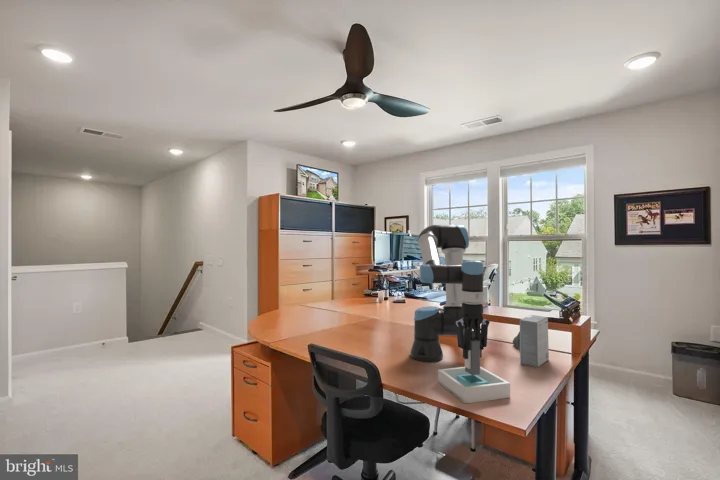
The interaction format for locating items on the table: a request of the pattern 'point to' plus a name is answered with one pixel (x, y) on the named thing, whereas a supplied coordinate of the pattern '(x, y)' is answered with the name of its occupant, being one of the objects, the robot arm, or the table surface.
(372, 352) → the table surface
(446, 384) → the walled box
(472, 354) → the connector plug
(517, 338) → the mineral rock
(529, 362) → the hard drive box
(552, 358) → the table surface
